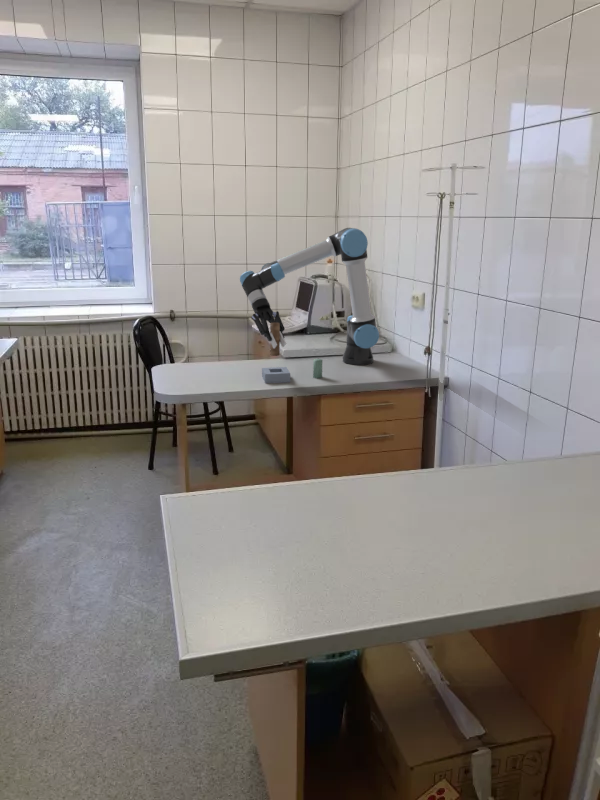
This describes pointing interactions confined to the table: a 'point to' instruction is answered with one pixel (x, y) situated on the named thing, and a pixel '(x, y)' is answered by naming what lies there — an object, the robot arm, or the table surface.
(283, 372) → the socket block
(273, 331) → the walnut pin long
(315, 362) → the green pin short
